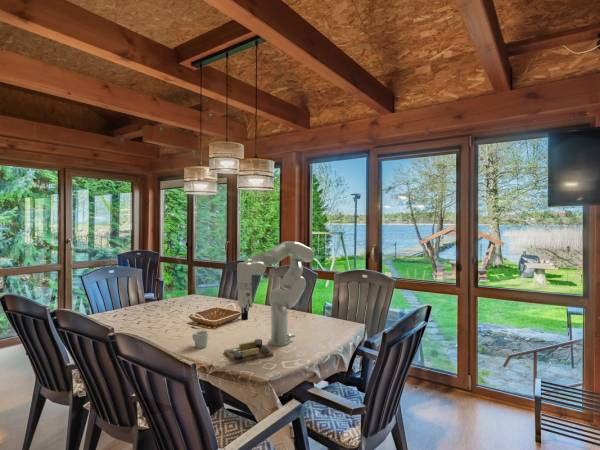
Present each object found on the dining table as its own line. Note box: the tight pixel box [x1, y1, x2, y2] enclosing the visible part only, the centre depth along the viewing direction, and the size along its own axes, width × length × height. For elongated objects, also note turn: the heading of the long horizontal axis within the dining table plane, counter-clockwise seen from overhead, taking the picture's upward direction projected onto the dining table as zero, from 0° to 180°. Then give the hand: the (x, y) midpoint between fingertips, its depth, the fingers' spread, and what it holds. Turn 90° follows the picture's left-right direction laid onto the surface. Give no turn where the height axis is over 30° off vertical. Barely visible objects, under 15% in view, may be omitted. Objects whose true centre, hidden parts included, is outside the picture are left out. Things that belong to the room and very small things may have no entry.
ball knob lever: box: [238, 338, 263, 350], centre depth 194 cm, size 13×4×3 cm, turn 120°
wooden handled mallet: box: [234, 348, 259, 359], centre depth 182 cm, size 13×4×3 cm, turn 120°
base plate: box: [223, 344, 274, 365], centre depth 189 cm, size 21×18×4 cm
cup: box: [192, 330, 209, 349], centre depth 201 cm, size 11×8×8 cm
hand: (244, 319), depth 188 cm, fingers closed
